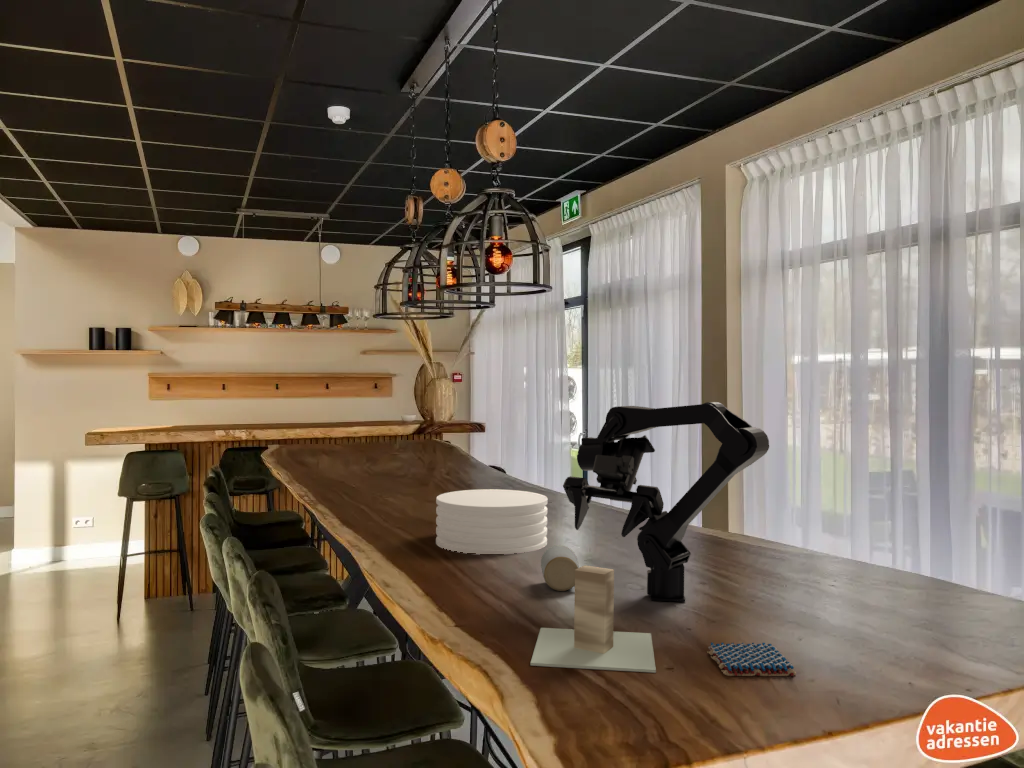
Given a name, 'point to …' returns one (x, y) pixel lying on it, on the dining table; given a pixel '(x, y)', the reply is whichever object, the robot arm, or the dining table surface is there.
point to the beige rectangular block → (594, 609)
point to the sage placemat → (623, 656)
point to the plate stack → (491, 521)
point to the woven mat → (750, 660)
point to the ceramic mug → (559, 567)
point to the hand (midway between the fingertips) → (599, 532)
